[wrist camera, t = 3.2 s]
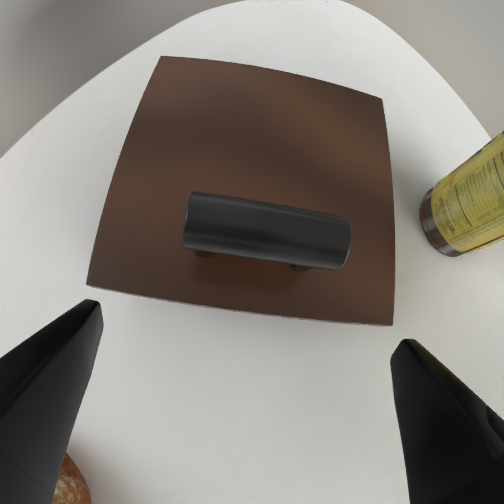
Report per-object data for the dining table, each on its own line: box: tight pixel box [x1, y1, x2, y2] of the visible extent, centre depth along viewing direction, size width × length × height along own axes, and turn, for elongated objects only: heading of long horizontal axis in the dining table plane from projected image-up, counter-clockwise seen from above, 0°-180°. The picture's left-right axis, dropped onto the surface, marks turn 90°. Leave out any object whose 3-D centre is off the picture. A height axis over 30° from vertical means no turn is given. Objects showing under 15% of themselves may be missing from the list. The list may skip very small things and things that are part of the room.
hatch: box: [86, 56, 395, 326], centre depth 13 cm, size 13×14×5 cm
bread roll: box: [52, 454, 91, 504], centre depth 12 cm, size 10×10×8 cm
